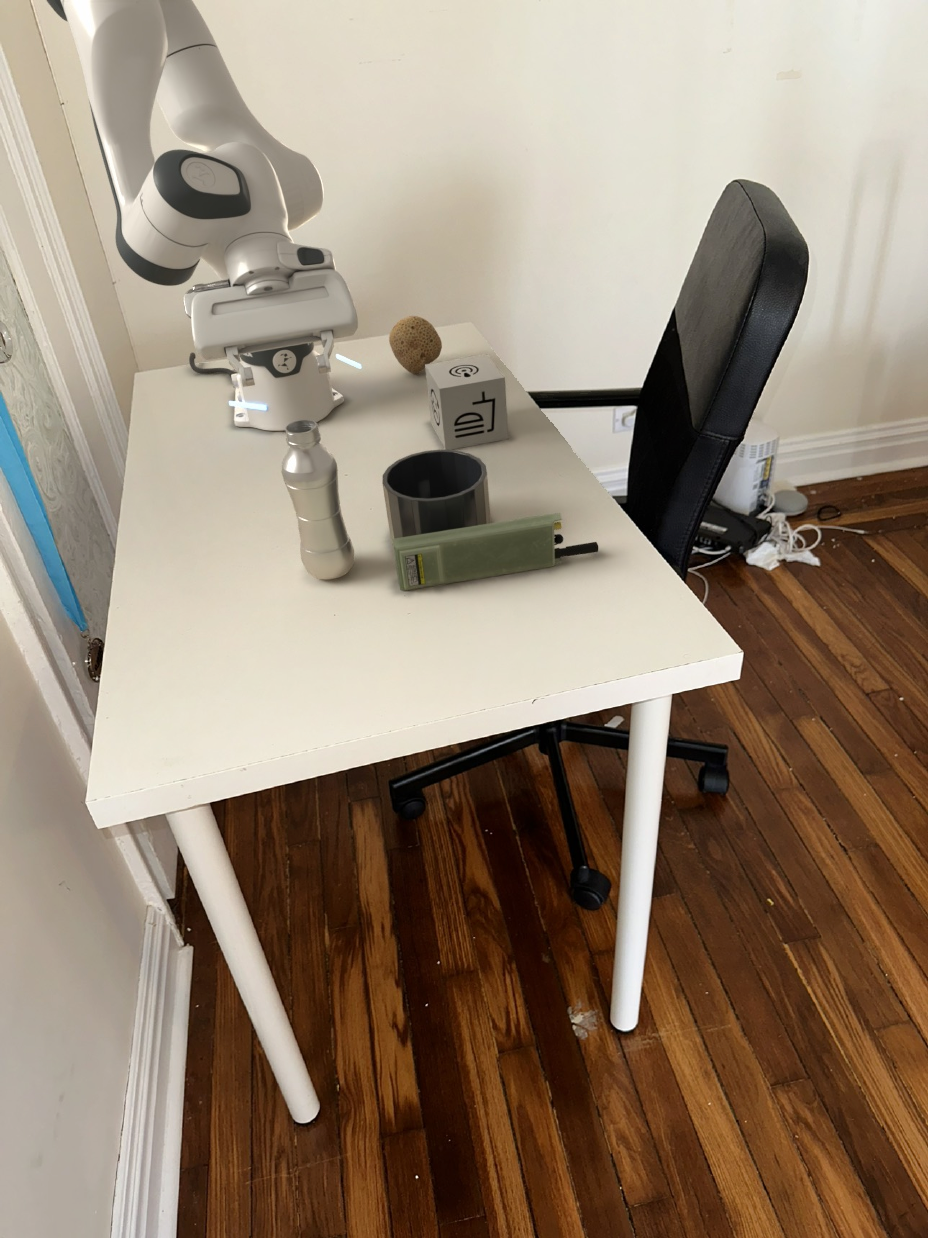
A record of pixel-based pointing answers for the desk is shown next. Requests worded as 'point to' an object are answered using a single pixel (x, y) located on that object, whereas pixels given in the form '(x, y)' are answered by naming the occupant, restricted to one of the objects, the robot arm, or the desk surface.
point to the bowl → (435, 493)
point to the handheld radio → (482, 551)
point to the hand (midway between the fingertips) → (287, 377)
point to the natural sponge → (415, 343)
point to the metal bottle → (316, 502)
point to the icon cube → (467, 401)
